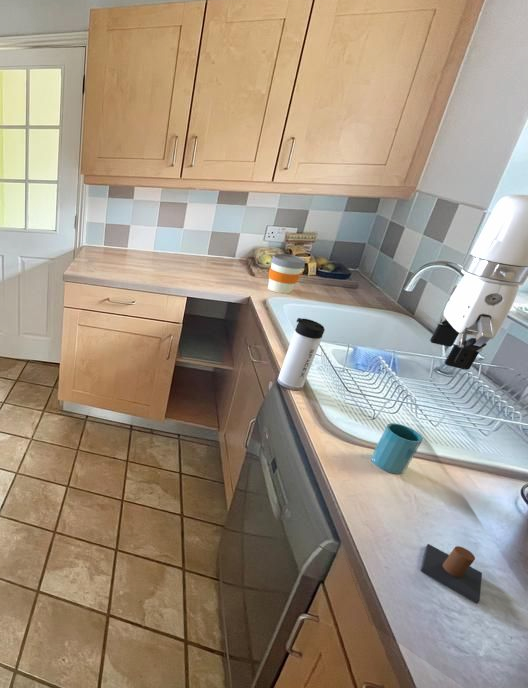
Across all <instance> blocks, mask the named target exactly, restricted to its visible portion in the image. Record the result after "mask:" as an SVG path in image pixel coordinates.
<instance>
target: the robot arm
mask: <svg viewBox="0 0 528 688" xmlns="http://www.w3.org/2000/svg"><path fill="white" fill-rule="evenodd" d="M460 272H461V273H462V274H463V276H462V277H461V280H460V281H459V282H458V283H457V286H456V287H455V289H454V290H453V292H452V294H451V296H450V298H449V299H448V302H447V303H446V306H445V308H444V310H443V316H442V317H441V318H440V319H439V323H438V324H437V326H436V327H435V330H434V332H433V334H432V336H431V338H430V340H429V341H430V343H431V344H435V345H440V346H445V347H450V348H451V347H452V348H451V349H450V352H449V353H448V355H447V357H446V359H445V360H444V365H446V366H448V367H453V368H456V369H460V370H466V371H467V370H470V369H471V367H472V366H473V364H474V362H475V361H476V359H477V357H478V355H479V354H480V352H482V351H483V348H484V347H486V346H487V343H488V342H489V341H490V340H494V339H495V338H497V336H498V334H499V332H500V330H501V329H502V327H503V325H504V324H505V321H506V319H507V317H508V316H509V313H510V311H511V309H512V307H513V304H514V302H515V300H516V297H517V294H518V291H519V288H520V286H524V284H525V282H526V281H527V279H528V194H508V195H505V196H503V197H501V198H500V199H499V200H498V201H497V202H496V204H495V205H494V207H493V209H492V211H491V213H490V215H489V217H488V219H487V221H486V222H485V225H484V227H483V228H482V231H481V232H480V235H478V238H477V240H476V242H475V243H474V246H473V248H472V250H471V252H470V254H469V255H468V257H467V259H466V261H465V263H464V264H463V266H462V269H461V271H460ZM467 337H470V338H468V339H467ZM457 338H458V341H457V344H455V342H456V340H457Z"/></svg>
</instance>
